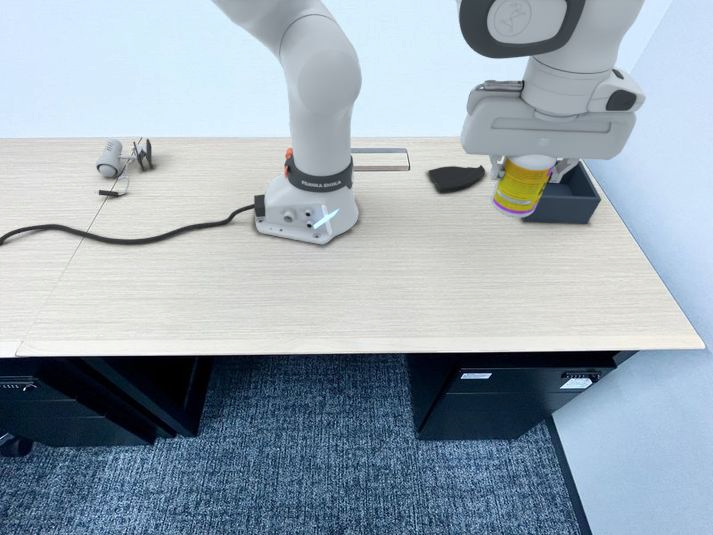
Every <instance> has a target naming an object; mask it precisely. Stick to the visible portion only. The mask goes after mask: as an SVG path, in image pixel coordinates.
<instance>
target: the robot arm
mask: <svg viewBox="0 0 713 535" xmlns="http://www.w3.org/2000/svg"><path fill="white" fill-rule="evenodd" d="M210 1H211V2H212V3H213V4H214V5H215V7H217V8H218V9H219V10H220V11H221V12H222V13H223V14H224V15H225V16H226V17H227V19H229V20H230V22H232V23H233V24H234V25H236V26H237V27H240V28H241V29H243V30H244V31H246V32H247V33H249V34H250V35H251V36H252V37H253V38H254V39H256V40H257V41H258V42H259V43H261V44H262V45H263V46H264V47H265V48H266V49H267V50H269V51H270V52H271V53H272V54H273V56H274V57H275V58H276V59H277V61H278V63H279V65H280V66H281V68H282V72H283V75H284V79H285V82H286V88H287V89H286V90H287V96H288V97H287V98H288V113H289V117H288V118H289V120H288V127H289V134H290V141H291V147H288V148H287V149H286V152H285V162H284V171H283V172H281V173H280V174H278V175H276V176H274V177H273V178H272V179H271V180H270V182H269V183H268V185H267V188H266V190H265V193H264V194H256V195H255V194H254V196H253V203H252V204H249V205H245V206H243V207H240V208H237V209H236V210H233V211H232V212H231V213H230V214H229V216H228V217H227V218H225V219H222V220H219V221H215V222H205V223H194V224H189V225H186V226H182V227H179V228H176V229H174V230H171V231H168V232H165V233H162V234H159V235H155V236H151V237H144V238H143V237H142V238H130V239H128V238H127V239H126V238H113V237H106V236H101V235H98V234H94V233H91V232H87V231H83V230H79V229H75V228H72V227H69V226H67V225H63V224H57V223H48V224H47V223H46V224H38V225H30V226H24V227H20V228H17V229H13V230H11V231H8V232H7V233H5V234H3V235H2V236H0V246H2V244H3V243H4V242H5V241H6V240H8V239H9V238H11V237H13V236H16V235H17V234H22V233H26V232H31V231H38V230H46V229H56V230H57V229H58V230H62V231H66V232H68V233H71V234H75V235H78V236H81V237H86V238H89V239H93V240H96V241H100V242H105V243H109V244H110V243H111V244H122V245H123V244H127V245H135V244H146V243H151V242H156V241H161V240H164V239H167V238H169V237H172V236H174V235H175V236H176V235H178V234H181V233H183V232H187V231H191V230H194V229H202V228H204V229H205V228H214V227H220V226H224V225H226V224H228V223H230V222H232V221H233V220H234V218H235V217H236V216H237V215H239V214H241V213H245V212H247V211H250V210H252V209H254V213H255V216H254V218H255V220H254V222H255V227H256V229H257V231H258V233H260V234H263V235H269V236H274V237H280V238H284V239H289V240H295V241H300V242H306V243H311V244H316V245H326V244H328V243H330V241H331V240H333V239H334V238H335V237H336V236H339V235H342V234H343V233H346V232H347V231H349V230H351V229H352V228H353V227H354V226H355V225H356V223H357V221H358V219H359V215H360V211H359V207H358V206H357V203H356V202H357V201H356V198H355V195H354V189H353V188H354V187H353V186H354V185H353V184H354V181H355V180H354V178H355V164H354V158H353V155H352V144H351V142H352V138H351V136H352V134H351V133H352V132H351V131H352V130H351V128H352V117H353V112H354V107H355V102H356V100H357V99H358V97H359V95H360V93H361V89H362V83H363V77H362V69H361V64H360V59H359V55H358V52H357V50H356V48H355V47H354V45H353V43H352V42H351V40H350V39H349V37H348V36H347V35H346V33H345V32H344V30H343V29H342V27H341V25H340V24H339V23H338V20H336V18H335V17H334V15H333V14H332V13H331V12H330V10H329V9H328V8H327V6H326V5H325V4H324V2H323V1H322V0H210ZM645 2H646V0H455V4H456V12H457V13H456V14H457V18H458V23H459V28H460V32H461V35H462V37H463V40H465V43H466V45H468V47H469V48H470V49H471V50H472V51H474V52H475V53H477V55H479V56H482V57H485V58H488V59H496V60H499V59H500V60H501V59H515V58H524V57H525V58H526V57H528V60H527V64H526V66H525V70H524V72H523V75H522V79H521V80H496V79H487V80H484V81H483V83H479V84H477V85H476V86H474V87H473V88H472V89H471V90H470V92H469V94H468V98H467V101H466V112H467V113H466V116H465V118H464V122H463V125H462V128H461V132H460V144H461V147H462V149H463V151H464V152H465V153H466V154H467V155H471V156H472V155H474V156H476V155H477V156H488V157H489V161H490V164H491V170H490V173H489V177H490V180H491V181H497V180H503V176H504V174H505V169H504V167H503V164H502V163H498V162H501V161H502V159H503V157H505V156H526V155H545V156H550V157H553V158H557V159H560V160H561V161H560V162H559V163H558V164H557V165H556V166H554V168H553V170H552V172H551V174H550V177H549V179H548V181H547V182H551V183H559V182H560V180H561V178H562V176H563V174H565V173H566V172H568V171H569V170H570V169H572V168H573V167H574V166H576V165H577V163H578V161H580V160H600V161H601V160H602V161H609V160H611V159H614V158H615V157H617V156H619V155H620V154H621V152H622V151H623V150H624V148H625V146H626V145H627V143H628V140H629V138H630V137H631V134H632V133H633V130H634V128H635V125H636V122H637V115H636V113H635V112H638V110H640V109H641V108H642V107H643V106H644V104H645V102H646V98H647V96H646V94H645V92H644V90H643V89H642V87H641V86H640V85H639V83H638V82H637V81H636V80H635V79H634V78H633V76H631V75H630V74H629V73H628V72H626V70H624V69H621V68H619V67H616V66H615V65H616V63H617V60H618V54H619V49H620V46H621V43H622V41H623V39H624V38H625V35H626V34H627V33H628V31H629V30H630V29H631V27H632V26H633V25H634V23H635V22H636V21H637V18H638V17H639V15H640V12H641V11H642V8H643V5H644V4H645ZM540 139H550V141H549V144H548V146H547V147H540V146H537V145H538V142H539V140H540Z"/></svg>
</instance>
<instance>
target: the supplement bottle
mask: <svg viewBox="0 0 713 535" xmlns="http://www.w3.org/2000/svg"><path fill="white" fill-rule="evenodd" d="M549 141H550V139H540V140H539V142H538V145H537V146H540V147H547V146H548V144H549ZM557 160H558V158H553V157H550V156H545V155H526V156H503V160H502V163H501V164H503V167H504V169H505V174H504V176H503V180H496V182H495V184H494V188H493V191H492V194H491V198H490V200H491V201H490V202H491V204H492V207H493V209H494V210H496V211H497V213H500V214H501V215H503V216H506V217H509V218H514V219H521V218H522V217H526V216H528V215H530V214H532V213H533V212H534V210H535V208H536V206H537V204H538V202H539V199H540V197H541V195H542V193H543V190H544V188H545V186H546V184H547V181H548V179H549V177H550V174H551V172H552V170H553V168H554V165H555V163H556V161H557ZM522 219H523V218H522Z"/></svg>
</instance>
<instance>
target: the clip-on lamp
mask: <svg viewBox="0 0 713 535" xmlns="http://www.w3.org/2000/svg"><path fill="white" fill-rule="evenodd" d="M145 140H146V141H145V143H144V144H143V145H140V144H138V143H137V142H136V141H132V143H133V148H131V151H132V152H133V154H132V155H129V154H128V155H127V154H125V155H124V154H122V151H123V144H122V142H121V141H120V140H118V139H116V138H109V139H108V140H106V142H105V145H104V148H103V151H102V154H101V156H99V157H98V158H97V159H96V162H95V169H96V171H97V172H98V173H99V174H101V175H102V176H104V177H106V178H107V177H108V178H110V177H116V176H118V175H119V174H120V173H121V170H122V166H121V163H120V160H131V161H128V162H126V163H125V171H124V172H123V173H122V174H121V175H120V176H118V178H117V181H120V180H122V179H125V178H127V185H126V188H125V190H124V191H123V192H121V193H119V192H118V191H113V190H105V189H99V190H98V191H96V190H95V191H94V194H98V196H106V197H116V198H118V197H119V196H122V195H124V194H126V192H127V191H128V189H129V186H130V177H129V175H126V174H127V173H128V170H129V167H128V165H132V164H133V163H135V161H136V160H137V162H138V164H139V166H140V168H141V170H142V171H143V172H144V171H146V170H145V169H146V168H145V166H144V164H143V161H144V159H146V162H147V163H148V165H149V168H150V169H151V170H153V169H154V165H153V162H152V160H153V158H152V157H153V154H152V152H153V150H152V144H151V141H150V138H146V139H145Z"/></svg>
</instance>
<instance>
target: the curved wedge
mask: <svg viewBox="0 0 713 535" xmlns="http://www.w3.org/2000/svg"><path fill="white" fill-rule="evenodd" d="M485 172H486V169H485V168H484V166H483V165H482V164H480V165H479V166H478V167H470V166H467V167H463V166H456V165H455V166H454V165H452V166H441V167H437V168H433V169H429V170H428V175H429V177H430V179H431V180H432V183H434V185H435V186H436V188H437V189H438V192H439V193H441V194H445V193H452V192H453V193H454V192H458V191H461V190H464V189H467V188H469V187H471V186H473V185H475V184H476V183H477V182H478V181H480V180H481V179H482V177H483V176H484V174H485Z"/></svg>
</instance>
